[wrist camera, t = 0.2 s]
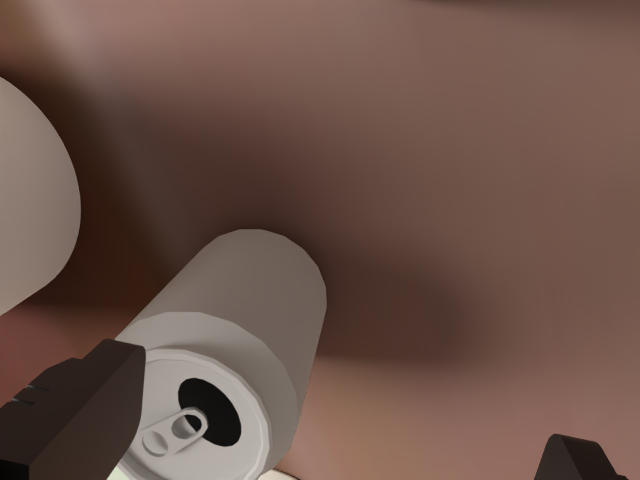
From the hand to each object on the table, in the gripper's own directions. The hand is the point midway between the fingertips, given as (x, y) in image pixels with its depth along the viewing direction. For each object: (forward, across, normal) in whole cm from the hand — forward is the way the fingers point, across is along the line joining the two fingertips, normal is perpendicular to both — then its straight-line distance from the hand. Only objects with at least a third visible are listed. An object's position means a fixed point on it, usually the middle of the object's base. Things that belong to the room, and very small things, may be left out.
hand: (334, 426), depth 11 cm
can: (+18, +5, +5) cm, 19 cm away
